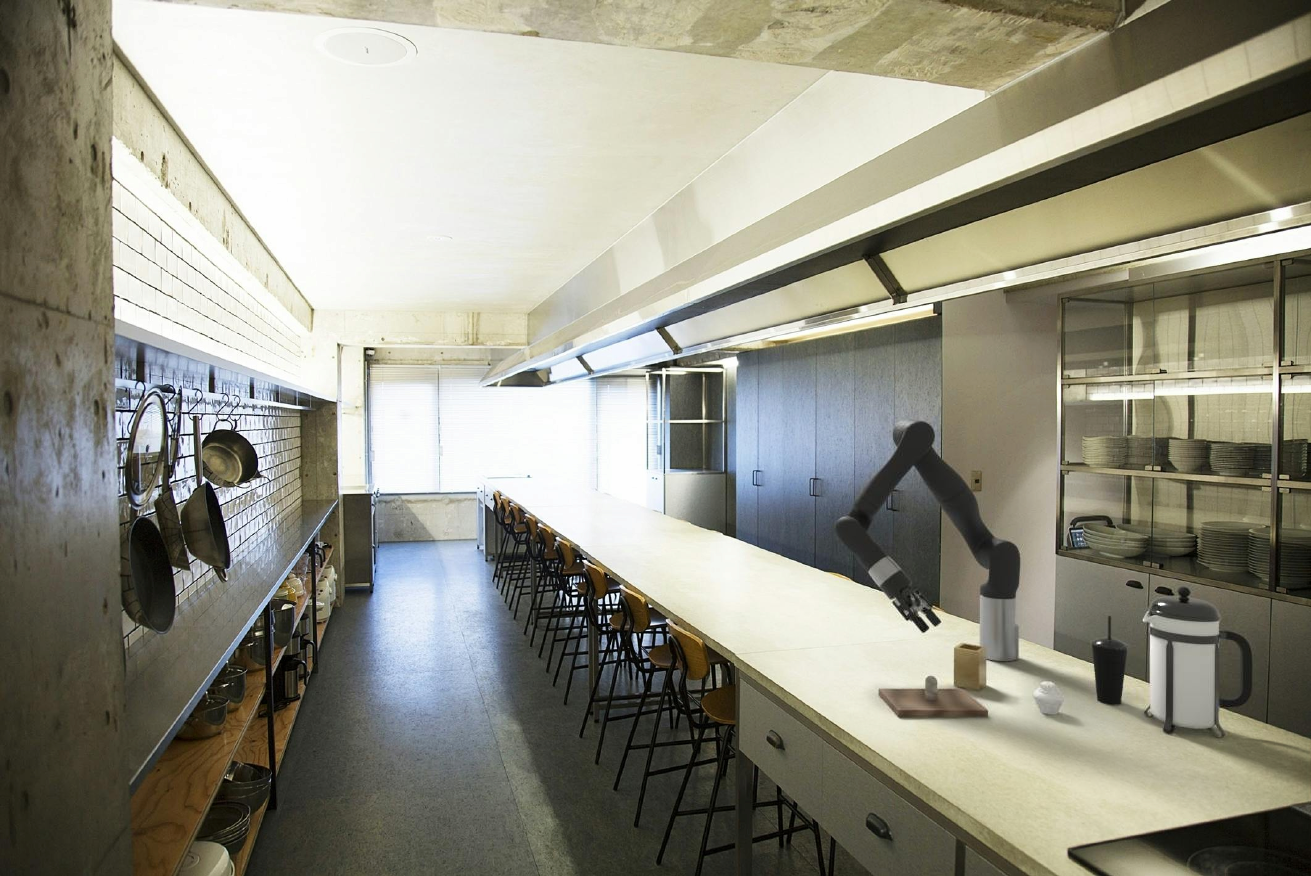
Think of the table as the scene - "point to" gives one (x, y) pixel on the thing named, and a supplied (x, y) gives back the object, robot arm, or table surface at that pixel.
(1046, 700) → the muffin
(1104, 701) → the drinking cup
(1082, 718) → the table surface
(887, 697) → the post board
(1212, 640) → the coffee press
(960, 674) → the wooden sleeve
